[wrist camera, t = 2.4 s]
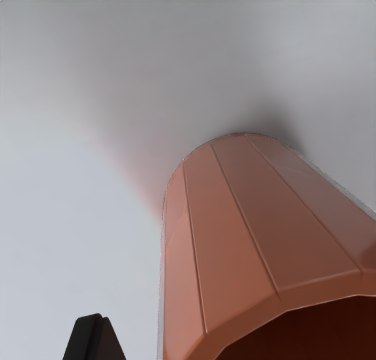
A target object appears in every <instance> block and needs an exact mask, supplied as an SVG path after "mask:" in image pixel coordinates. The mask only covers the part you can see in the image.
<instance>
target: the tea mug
mask: <svg viewBox="0 0 376 360" xmlns="http://www.w3.org/2000/svg"><path fill="white" fill-rule="evenodd" d="M157 360H376V213H375V212H374V211H373V210H371V209H370V208H369V207H368V206H366V205H365V204H364V203H362V202H361V201H360V200H359V199H357V198H356V197H355V196H354V195H352V194H351V193H350V192H349V191H347V190H346V189H345V188H344V187H342V186H341V185H340V184H339V183H337V182H336V181H335V180H334V179H332V178H331V177H330V176H329V175H327V174H326V173H325V172H323V171H322V170H321V169H320V168H318V167H317V166H316V165H315V164H313V163H312V162H311V161H310V160H308V159H307V158H306V157H305V156H303V155H302V154H300V153H299V152H297V151H295V150H294V149H293V148H291V147H290V146H288V145H287V144H285V143H284V142H282V141H280V140H278V139H275V138H272V137H270V136H266V135H261V134H255V133H236V134H231V135H225V136H222V137H219V138H216V139H213V140H211V141H209V142H207V143H205V144H203V145H202V146H200V147H198V148H197V149H195V150H194V151H193V152H192V153H190V154H189V155H188V156H187V157H186V158H185V159H184V160H183V161H182V162H181V163H180V165H179V166H178V167H177V169H176V170H175V171H174V173H173V175H172V177H171V179H170V181H169V183H168V186H167V189H166V192H165V197H164V206H163V215H162V231H161V257H160V284H159V311H158V338H157Z"/></svg>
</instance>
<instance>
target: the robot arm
mask: <svg viewBox="0 0 376 360" xmlns="http://www.w3.org/2000/svg"><path fill="white" fill-rule="evenodd" d="M63 360H126V358H125V356H124V353H123V351H122V348H121V346H120V344H119V341H118V339H117V337H116V334H115V332H114V330H113V327H112V325H111V322H110V320H109V318H108V317H104V318H103V317H102V316H101V314H99V313H97V314H92V315H88V316H84V317H80V318H78V319H77V320H76V322H75V325H74V328H73V331H72V334H71V336H70V339H69V342H68V345H67V348H66V351H65V354H64V357H63Z"/></svg>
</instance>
